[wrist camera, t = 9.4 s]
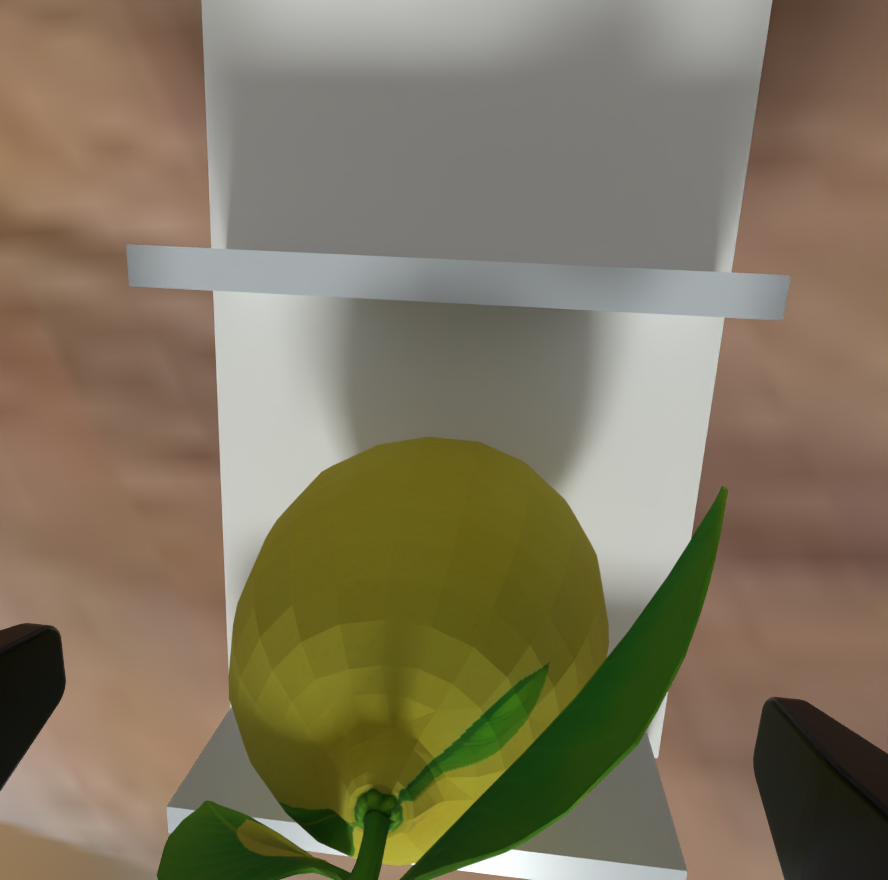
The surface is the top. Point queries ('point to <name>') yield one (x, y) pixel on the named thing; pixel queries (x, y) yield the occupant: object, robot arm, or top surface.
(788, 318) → the top surface
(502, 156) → the white divided tray
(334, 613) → the lemon
